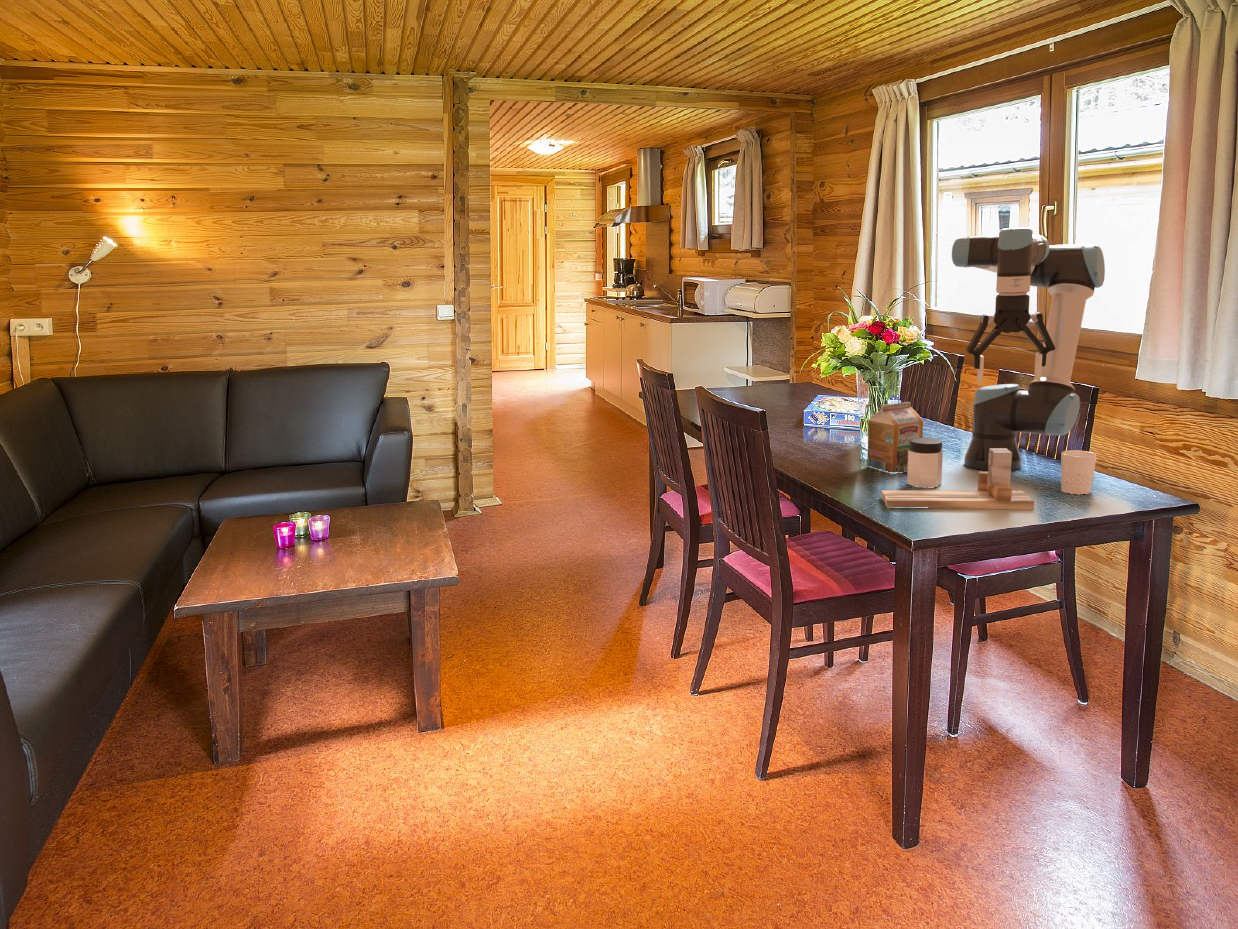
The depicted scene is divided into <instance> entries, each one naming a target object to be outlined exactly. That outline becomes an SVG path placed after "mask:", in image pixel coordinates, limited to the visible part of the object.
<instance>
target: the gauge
mask: <svg viewBox="0 0 1238 929" xmlns="http://www.w3.org/2000/svg"><path fill="white" fill-rule="evenodd" d="M1011 461H1012V452H1010V451H1009V450H1008V449H1007V448H989V462H988V470H987V471H978V479H977V491H988V492H989V493H990V494H991V495H992V496H993V497H994V498H995V499H996V500H997V501H1011V494H1012V491H1013V490H1012V489H1013V488H1011V487H1010V486H1011V475H1012V474H1011V473H1012V470H1011Z"/></svg>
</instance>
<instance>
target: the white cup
mask: <svg viewBox="0 0 1238 929" xmlns="http://www.w3.org/2000/svg"><path fill="white" fill-rule="evenodd" d="M1060 456H1061V458H1060V461H1061V462H1060V481H1061V484H1060V486H1061V487H1060V490H1061V492H1062V493H1064V494H1067V493H1070V494H1069V495H1073V494H1077V495H1076V496H1083V495H1082V494H1086V495H1089V493H1090V494H1091V492H1092V483H1093V480H1094V475H1095V467H1096V460H1097V454H1096V453H1095V452H1092V451H1086V450H1080V449H1079V450H1076V449H1075V450H1074V449H1070V450H1064V451H1062V452H1061V455H1060ZM1080 494H1081V495H1080Z"/></svg>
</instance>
